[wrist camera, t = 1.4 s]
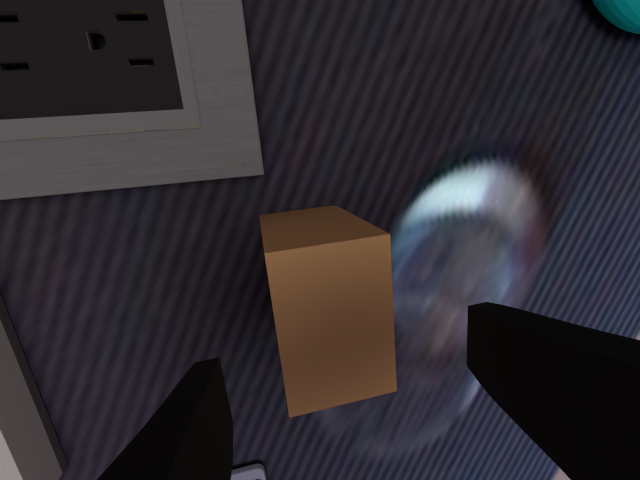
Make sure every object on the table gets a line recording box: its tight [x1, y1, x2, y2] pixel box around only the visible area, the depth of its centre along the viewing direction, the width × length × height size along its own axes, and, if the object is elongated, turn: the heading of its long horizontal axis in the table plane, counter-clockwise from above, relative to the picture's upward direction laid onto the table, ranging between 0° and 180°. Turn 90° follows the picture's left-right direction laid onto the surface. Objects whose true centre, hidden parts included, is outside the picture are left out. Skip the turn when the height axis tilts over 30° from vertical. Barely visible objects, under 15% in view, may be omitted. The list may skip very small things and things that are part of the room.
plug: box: [259, 205, 397, 418], centre depth 14 cm, size 6×4×7 cm, turn 6°
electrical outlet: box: [0, 0, 264, 200], centre depth 12 cm, size 13×10×2 cm
